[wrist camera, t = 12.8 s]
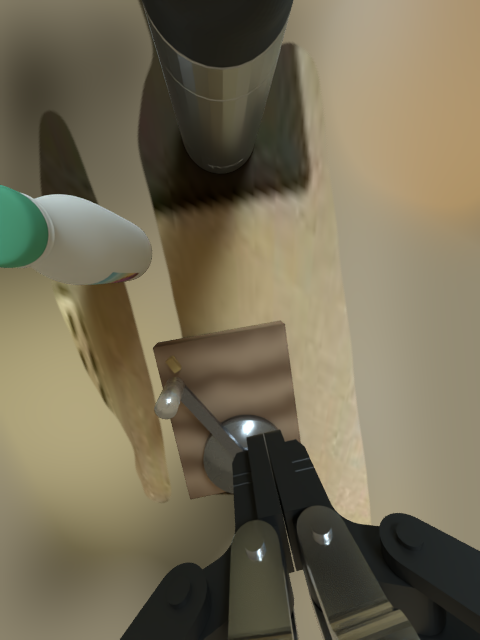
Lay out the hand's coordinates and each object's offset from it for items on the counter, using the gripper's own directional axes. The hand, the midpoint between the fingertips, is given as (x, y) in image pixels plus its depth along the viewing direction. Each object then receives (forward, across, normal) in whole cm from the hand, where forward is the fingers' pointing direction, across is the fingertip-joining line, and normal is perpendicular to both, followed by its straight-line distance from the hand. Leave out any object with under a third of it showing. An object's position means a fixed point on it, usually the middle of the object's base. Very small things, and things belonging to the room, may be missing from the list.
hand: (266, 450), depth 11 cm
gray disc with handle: (+23, +5, +15) cm, 28 cm away
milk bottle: (+26, +12, -12) cm, 32 cm away
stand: (+26, +3, +13) cm, 29 cm away
